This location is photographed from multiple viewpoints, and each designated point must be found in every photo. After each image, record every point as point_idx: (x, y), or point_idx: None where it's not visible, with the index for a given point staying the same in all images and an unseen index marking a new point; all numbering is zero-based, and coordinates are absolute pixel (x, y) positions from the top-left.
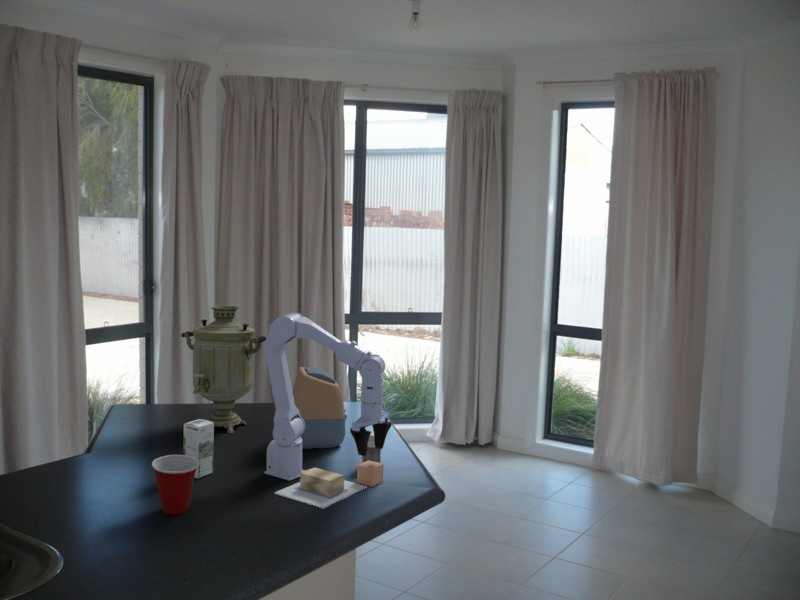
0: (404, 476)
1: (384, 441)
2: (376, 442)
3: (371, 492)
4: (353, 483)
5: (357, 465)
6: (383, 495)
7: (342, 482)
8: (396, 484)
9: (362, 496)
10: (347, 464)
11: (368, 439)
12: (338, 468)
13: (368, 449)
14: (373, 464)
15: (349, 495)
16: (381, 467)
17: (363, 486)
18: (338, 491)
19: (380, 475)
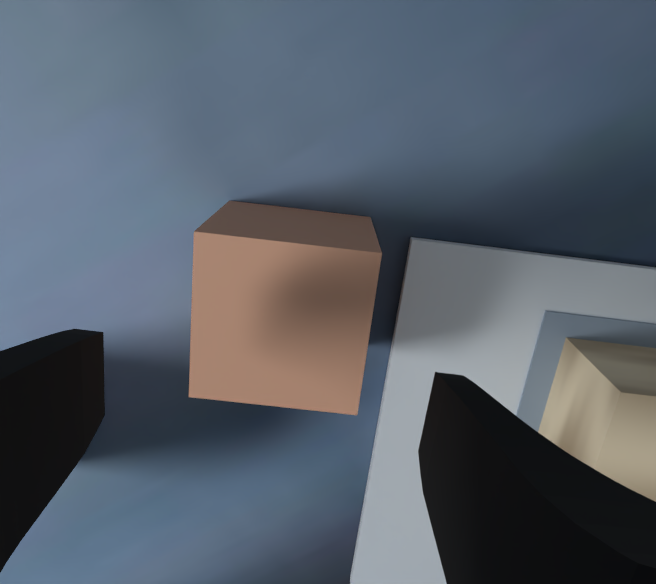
0: (26, 106)
1: (8, 350)
2: (71, 442)
3: (477, 165)
4: (406, 348)
5: (357, 411)
6: (495, 49)
7: (613, 367)
8: (223, 75)
9: (581, 184)
10: (94, 542)
11: (535, 479)
12: (189, 550)
13: None
14: (267, 304)
15: (621, 265)
16: (233, 229)
17: (426, 262)
18: (629, 348)
19: (257, 216)
